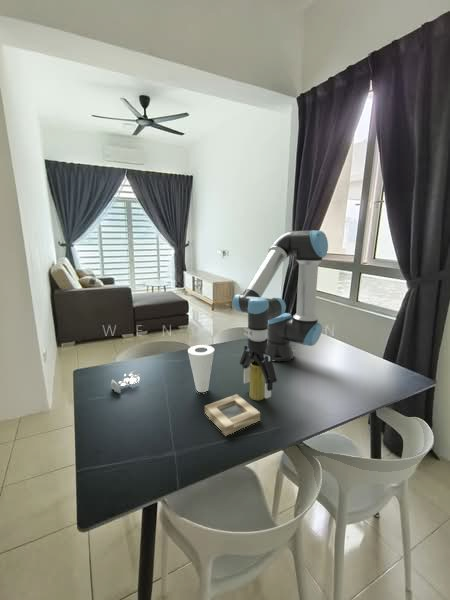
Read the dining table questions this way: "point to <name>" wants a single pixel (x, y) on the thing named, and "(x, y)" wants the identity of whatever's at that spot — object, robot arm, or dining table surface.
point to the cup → (201, 365)
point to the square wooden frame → (232, 414)
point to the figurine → (125, 381)
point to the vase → (256, 382)
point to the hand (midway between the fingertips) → (256, 389)
